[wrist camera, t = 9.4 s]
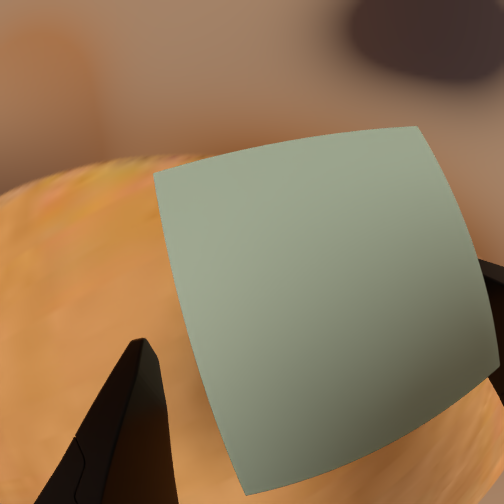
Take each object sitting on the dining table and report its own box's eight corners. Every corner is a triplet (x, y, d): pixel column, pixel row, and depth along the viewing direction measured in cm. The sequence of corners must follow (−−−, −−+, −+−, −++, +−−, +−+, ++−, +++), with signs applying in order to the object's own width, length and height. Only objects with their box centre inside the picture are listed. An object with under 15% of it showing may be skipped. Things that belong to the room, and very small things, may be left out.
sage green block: (325, 343, 16) (500, 365, 4) (240, 370, 15) (245, 495, 3) (299, 261, 17) (417, 126, 5) (215, 285, 16) (152, 173, 4)
